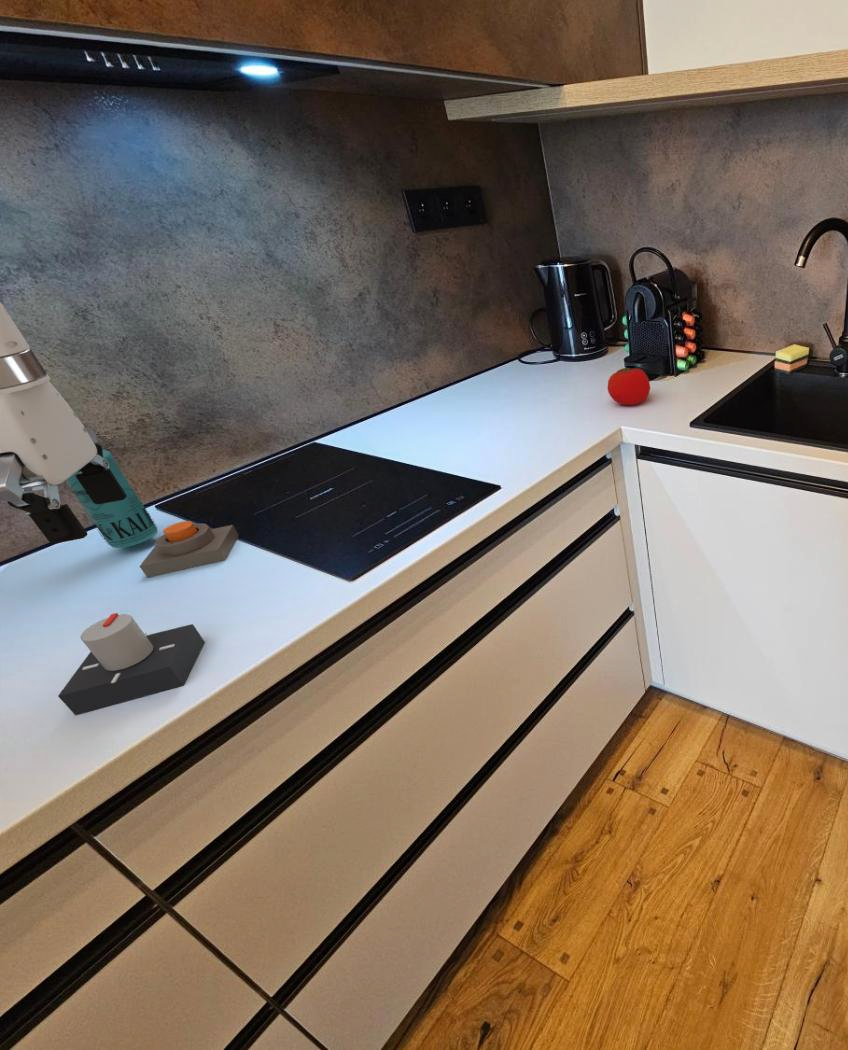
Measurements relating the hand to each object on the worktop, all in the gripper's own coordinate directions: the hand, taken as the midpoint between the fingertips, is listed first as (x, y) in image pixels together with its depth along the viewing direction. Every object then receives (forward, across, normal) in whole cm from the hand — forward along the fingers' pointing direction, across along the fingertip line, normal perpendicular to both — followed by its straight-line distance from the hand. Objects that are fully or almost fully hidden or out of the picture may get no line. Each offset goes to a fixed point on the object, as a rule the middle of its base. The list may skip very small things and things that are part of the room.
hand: (92, 519), depth 68 cm
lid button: (+12, -19, -2) cm, 23 cm away
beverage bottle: (+16, -27, -12) cm, 34 cm away
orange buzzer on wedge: (+16, -19, -2) cm, 25 cm away
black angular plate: (+16, +11, +2) cm, 19 cm away
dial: (+13, +11, +1) cm, 17 cm away
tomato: (+16, -52, +77) cm, 94 cm away
